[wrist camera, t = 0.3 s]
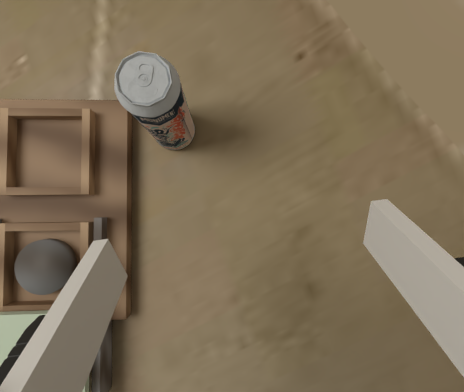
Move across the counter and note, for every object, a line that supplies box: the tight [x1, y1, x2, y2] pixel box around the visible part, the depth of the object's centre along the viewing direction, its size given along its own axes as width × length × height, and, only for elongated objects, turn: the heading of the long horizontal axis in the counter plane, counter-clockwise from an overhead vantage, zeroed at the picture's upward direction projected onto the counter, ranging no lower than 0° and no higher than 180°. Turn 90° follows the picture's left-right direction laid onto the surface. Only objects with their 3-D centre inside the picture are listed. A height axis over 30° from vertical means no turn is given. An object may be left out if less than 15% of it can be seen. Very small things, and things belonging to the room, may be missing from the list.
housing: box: [0, 99, 132, 392], centre depth 27 cm, size 32×16×3 cm, turn 1°
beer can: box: [115, 51, 195, 150], centre depth 23 cm, size 5×5×12 cm
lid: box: [0, 310, 89, 392], centre depth 23 cm, size 10×10×4 cm
